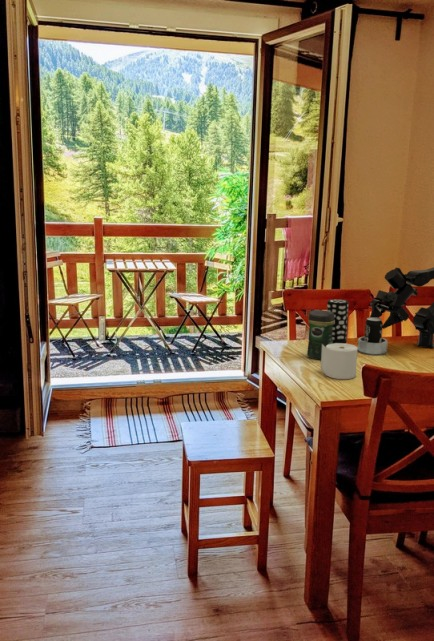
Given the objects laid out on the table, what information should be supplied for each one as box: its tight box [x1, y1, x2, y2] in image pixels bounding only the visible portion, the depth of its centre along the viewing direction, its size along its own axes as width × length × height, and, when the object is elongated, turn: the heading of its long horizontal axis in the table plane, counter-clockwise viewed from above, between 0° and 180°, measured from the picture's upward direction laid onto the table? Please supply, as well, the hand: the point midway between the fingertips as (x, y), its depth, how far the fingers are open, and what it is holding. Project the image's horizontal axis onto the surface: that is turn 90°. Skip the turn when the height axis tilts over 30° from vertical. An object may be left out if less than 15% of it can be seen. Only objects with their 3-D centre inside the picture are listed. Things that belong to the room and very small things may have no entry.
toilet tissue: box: [320, 343, 358, 380], centre depth 188 cm, size 11×12×10 cm
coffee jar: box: [306, 309, 335, 361], centre depth 208 cm, size 10×8×19 cm
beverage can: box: [364, 316, 384, 343], centre depth 217 cm, size 7×7×12 cm
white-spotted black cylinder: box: [326, 298, 349, 344], centre depth 219 cm, size 8×8×20 cm
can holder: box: [357, 336, 388, 356], centre depth 218 cm, size 12×12×5 cm
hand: (375, 325), depth 216 cm, fingers open, 9 cm apart
